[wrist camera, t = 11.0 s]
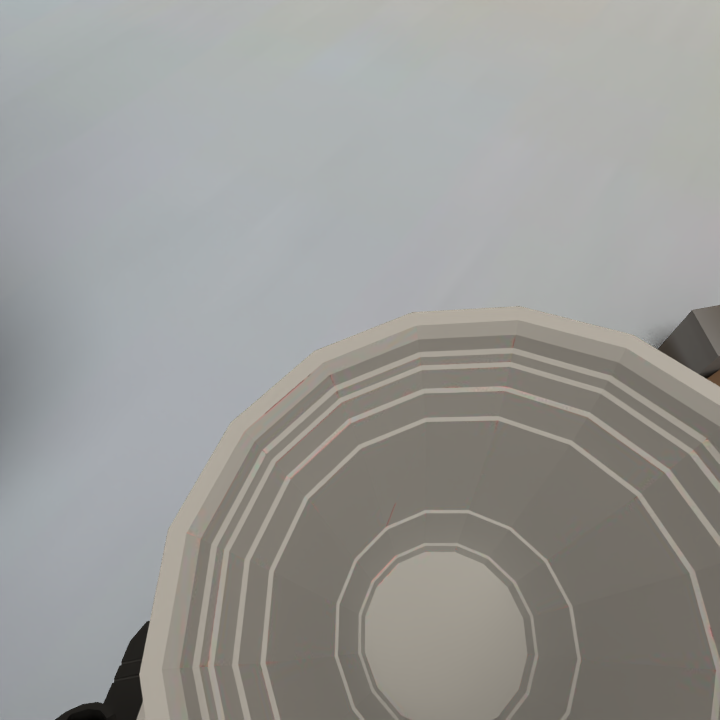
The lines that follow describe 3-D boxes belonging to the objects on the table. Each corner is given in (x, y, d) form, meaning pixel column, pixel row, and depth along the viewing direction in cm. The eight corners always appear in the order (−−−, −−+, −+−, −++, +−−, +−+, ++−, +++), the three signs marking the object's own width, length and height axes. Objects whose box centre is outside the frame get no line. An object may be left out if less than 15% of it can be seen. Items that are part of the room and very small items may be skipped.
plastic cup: (390, 423, 22) (389, 205, 11) (656, 584, 18) (1005, 488, 8) (211, 679, 18) (-49, 710, 7) (509, 946, 14) (825, 1723, 4)
